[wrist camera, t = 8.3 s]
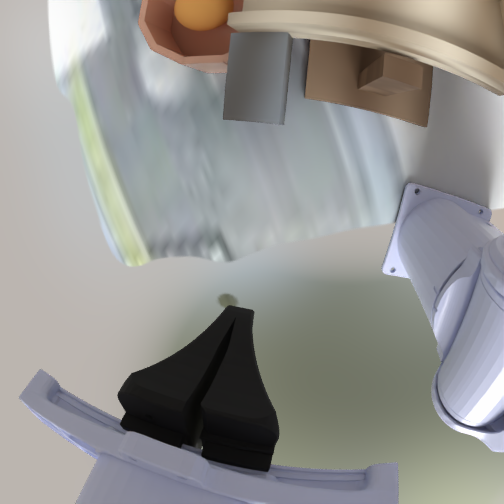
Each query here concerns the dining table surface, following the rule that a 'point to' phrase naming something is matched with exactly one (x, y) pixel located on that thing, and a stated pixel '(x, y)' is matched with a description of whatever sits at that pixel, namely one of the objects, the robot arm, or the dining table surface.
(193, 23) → the ball
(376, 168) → the dining table surface
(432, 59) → the beige curved piece
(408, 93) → the lever stand
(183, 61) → the cup
